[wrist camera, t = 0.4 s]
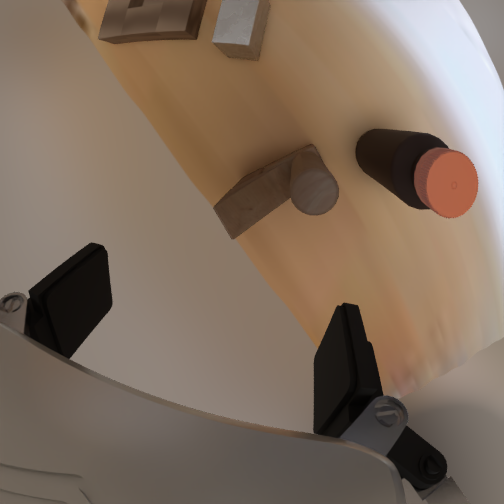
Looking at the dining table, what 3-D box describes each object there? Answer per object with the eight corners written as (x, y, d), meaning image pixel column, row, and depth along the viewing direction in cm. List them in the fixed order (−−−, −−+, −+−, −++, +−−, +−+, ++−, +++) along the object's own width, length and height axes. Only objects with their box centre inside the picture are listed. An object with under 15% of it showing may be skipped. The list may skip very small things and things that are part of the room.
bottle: (344, 154, 34) (394, 185, 16) (376, 118, 31) (452, 116, 13) (380, 188, 35) (448, 249, 17) (410, 153, 32) (499, 187, 14)
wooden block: (240, 178, 38) (198, 221, 22) (312, 143, 34) (328, 157, 18) (253, 201, 39) (222, 260, 23) (325, 167, 35) (349, 204, 19)
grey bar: (241, 3, 27) (228, -21, 20) (270, 6, 27) (264, -20, 19) (228, 57, 31) (211, 42, 24) (258, 61, 31) (248, 45, 23)
